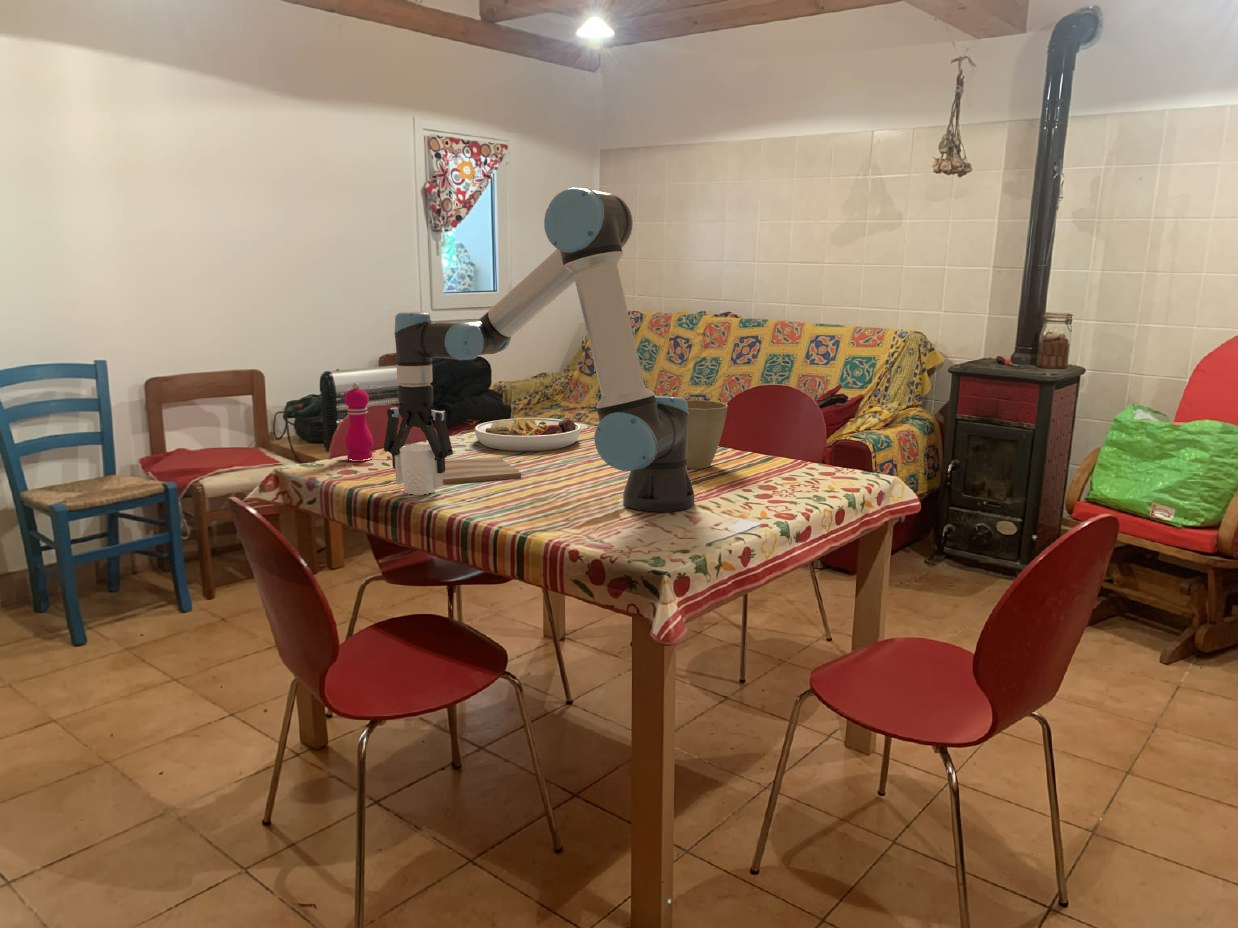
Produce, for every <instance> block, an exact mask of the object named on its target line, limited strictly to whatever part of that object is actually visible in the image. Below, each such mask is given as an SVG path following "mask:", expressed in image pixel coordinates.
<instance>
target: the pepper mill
mask: <svg viewBox="0 0 1238 928" xmlns="http://www.w3.org/2000/svg"><path fill="white" fill-rule="evenodd" d="M351 386H352V387H351V388H352V389H349V390H347V392H345V395H344V398H343V399H344V403H345V405H346V406H347V407H348V408H346V409H347V413H346V414H348V416H349V423H348V430H347V432H346V435H345V437H344V438H345V439H344V447H345V448H346V449H347V450H348V453H346V454H347V455H346V456H347V458H348V459H352V460H363V459H368V458H371V457H372V458H373V452H372V451H371V449H373V447H374V445H375V444H374V438H373V435H372V432H371V431H370V429H369V426H368V424H367V418H366V417H367V414H368V407H367V406H368V404H369V402H370V397H369V393H368V392H366V390H364V389H361V388H360V384H359V383H358V382H354V383H353V384H352V385H351ZM348 459H347V460H348Z"/></svg>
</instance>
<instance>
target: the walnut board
mask: <svg viewBox="0 0 1238 928" xmlns="http://www.w3.org/2000/svg"><path fill="white" fill-rule="evenodd" d="M520 478H522V472H521V471H519V470H518V469H517V468H515V467H513V466H512V465H511V464H509V463H508V462H506V460H503V459H502V458H501V457H499V456H494V457H493V456H491V457H482V458H481V457H480V458H479V457H478V458H477V457H476V458H466V459H464V458H463V459H453V460H452V459H451V460H445V472H444V473H443V485H449V484H450V485H451V484H452V485H453V484H462V483H475V482H476V483H477V482H486V481H498V480H508V479H520Z"/></svg>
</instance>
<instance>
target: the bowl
mask: <svg viewBox="0 0 1238 928" xmlns="http://www.w3.org/2000/svg"><path fill="white" fill-rule="evenodd" d="M581 431H582V430H581V425H580V424H578V423H576V422H574V421H573V420H571V419H567V418H565V419H556V418H555V419H554V418H553V419H552V418H537V417H536V418H532V417H531V418H527V417H526V418H524V417H516V418H508V419H498V420H492V421H487V422H482V423H479V424H477V425H476V426H475V427H474V433H475V437H476V439H477V441H479V443H480V444H482V445H483V446H485V447H488V448H489V449H493V450H498V449H499V451H506V450H507V451H509V452H543V451H554V450H558V449H563V448H567V447H568V446H571V445H573V444H574V443H575V442H577V440H579V437H580V435H581ZM553 449H554V450H553Z"/></svg>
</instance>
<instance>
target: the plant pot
mask: <svg viewBox="0 0 1238 928" xmlns="http://www.w3.org/2000/svg"><path fill="white" fill-rule="evenodd" d="M685 400H686V401H687V403H688V412H689V417H688V442H687V469H688V468H691V469H690V470H703V469H702V468H706V469H708V468H707V467H709V466H710V467H711V465H712V463H713V461H714V459H715V456H716V453H717V450H718V447H719V444H720V441H721V439H722V435H723V431H724V427H725V423H726V417H727V411H728V407H729V405H728V404H726V403H724V402H720V401H713V400H705V399H704V400H703V399H700V400H699V399H685ZM710 467H709V468H710Z"/></svg>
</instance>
